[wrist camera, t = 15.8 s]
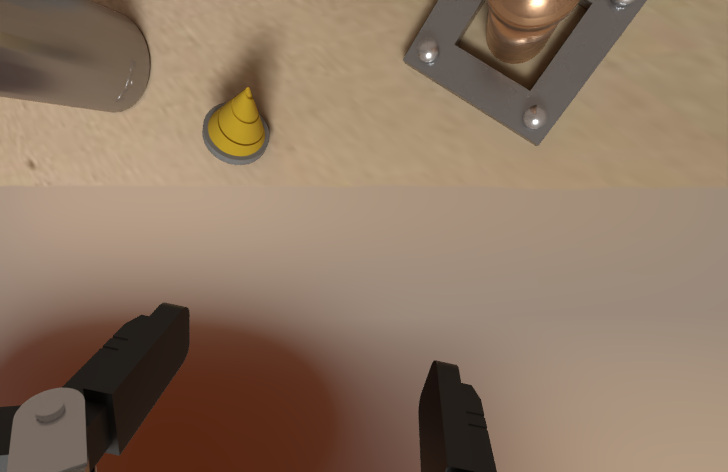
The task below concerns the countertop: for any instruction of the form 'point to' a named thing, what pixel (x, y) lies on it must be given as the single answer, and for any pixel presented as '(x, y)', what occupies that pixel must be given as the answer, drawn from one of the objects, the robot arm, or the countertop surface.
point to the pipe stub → (523, 26)
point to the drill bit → (236, 130)
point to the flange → (501, 94)
